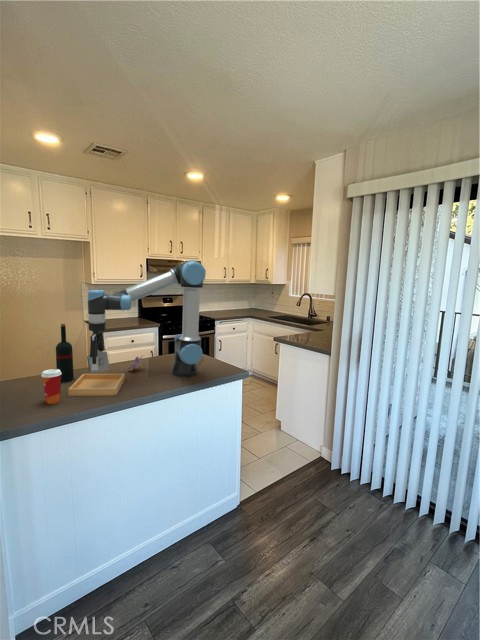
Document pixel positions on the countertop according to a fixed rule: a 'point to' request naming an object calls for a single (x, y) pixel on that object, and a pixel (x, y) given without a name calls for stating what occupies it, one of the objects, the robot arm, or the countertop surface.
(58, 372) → the paper cup
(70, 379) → the wine bottle
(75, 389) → the wooden tray
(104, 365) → the electrical switch
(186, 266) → the robot arm
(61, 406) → the countertop surface
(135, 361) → the lily
